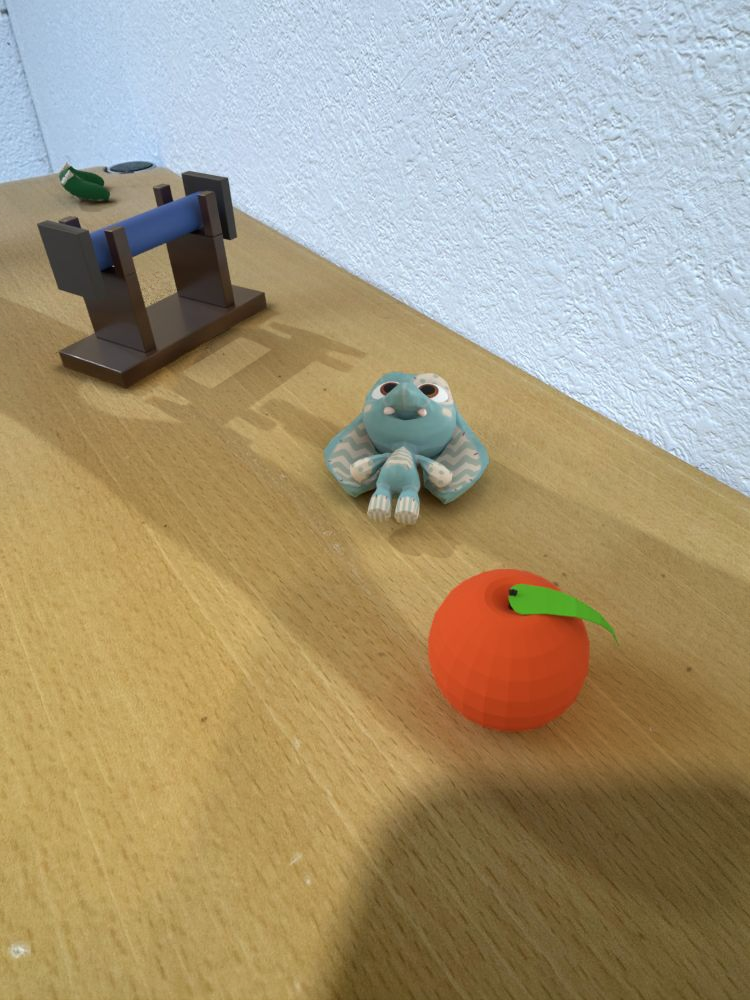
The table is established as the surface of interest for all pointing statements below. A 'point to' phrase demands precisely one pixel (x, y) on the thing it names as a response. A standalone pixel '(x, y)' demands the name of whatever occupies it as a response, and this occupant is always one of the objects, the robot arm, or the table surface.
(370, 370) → the table surface
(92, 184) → the green banana bunch
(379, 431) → the stuffed animal
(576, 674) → the clementine
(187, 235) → the holder
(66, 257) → the handle
